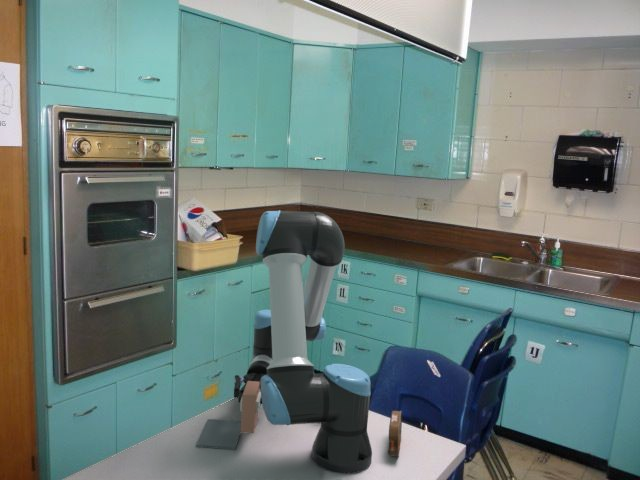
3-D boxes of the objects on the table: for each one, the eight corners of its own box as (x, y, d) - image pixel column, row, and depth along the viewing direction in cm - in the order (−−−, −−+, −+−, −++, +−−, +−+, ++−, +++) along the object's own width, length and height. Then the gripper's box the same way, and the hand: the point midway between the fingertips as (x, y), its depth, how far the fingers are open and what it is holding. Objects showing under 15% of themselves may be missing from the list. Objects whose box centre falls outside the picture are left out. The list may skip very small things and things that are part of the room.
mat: (243, 423, 159) (243, 421, 159) (235, 449, 145) (235, 447, 145) (207, 420, 159) (207, 418, 159) (195, 446, 145) (195, 444, 145)
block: (258, 417, 153) (259, 381, 151) (253, 433, 144) (255, 395, 142) (246, 416, 153) (247, 380, 151) (240, 432, 144) (242, 394, 142)
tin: (397, 463, 144) (400, 431, 142) (385, 461, 144) (388, 429, 143) (401, 434, 158) (404, 406, 157) (390, 432, 159) (392, 404, 158)
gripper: (287, 386, 169) (280, 422, 145) (232, 382, 169) (216, 418, 146) (289, 361, 168) (282, 394, 144) (233, 358, 168) (217, 390, 144)
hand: (249, 406), depth 145 cm, fingers closed on block, 3 cm apart
